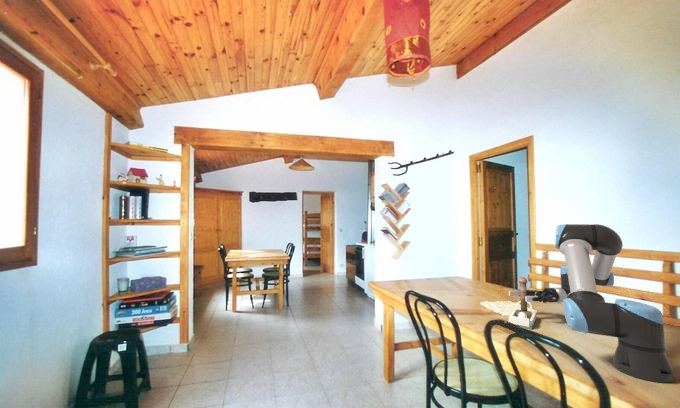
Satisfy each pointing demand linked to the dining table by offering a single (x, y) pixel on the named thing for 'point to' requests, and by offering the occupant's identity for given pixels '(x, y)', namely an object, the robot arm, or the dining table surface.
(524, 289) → the brown upright rod
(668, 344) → the dining table surface
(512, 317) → the white open tray
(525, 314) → the ball
